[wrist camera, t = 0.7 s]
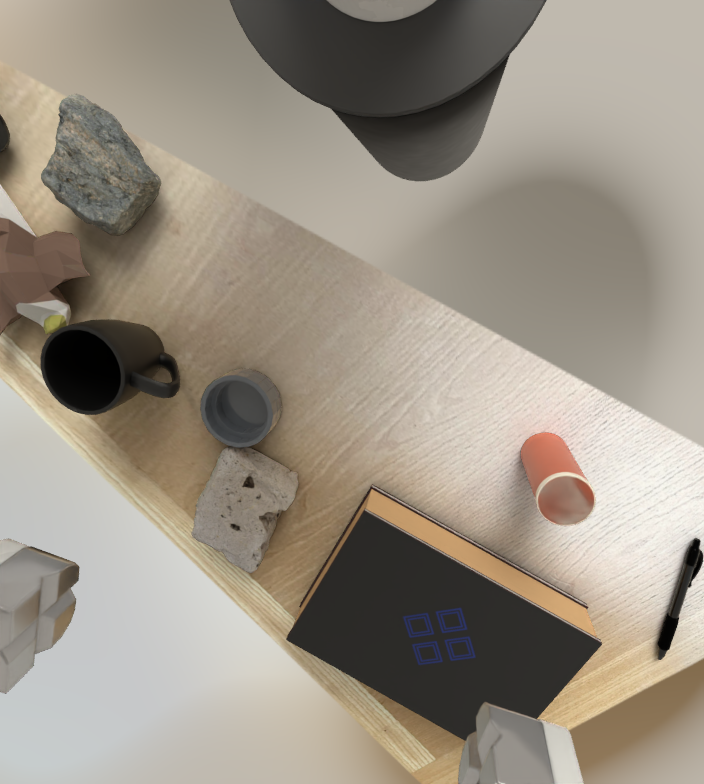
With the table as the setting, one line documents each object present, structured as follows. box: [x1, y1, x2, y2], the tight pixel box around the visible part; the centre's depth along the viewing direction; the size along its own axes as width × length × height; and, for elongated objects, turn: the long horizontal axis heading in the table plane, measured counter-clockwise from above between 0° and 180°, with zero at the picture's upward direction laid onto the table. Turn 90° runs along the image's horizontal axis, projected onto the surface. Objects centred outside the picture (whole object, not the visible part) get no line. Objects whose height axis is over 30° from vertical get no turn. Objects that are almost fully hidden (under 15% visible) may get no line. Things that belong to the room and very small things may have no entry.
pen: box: [657, 538, 703, 660], centre depth 54 cm, size 14×2×1 cm, turn 174°
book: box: [287, 484, 602, 741], centre depth 56 cm, size 17×25×7 cm
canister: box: [521, 433, 596, 526], centre depth 48 cm, size 4×4×10 cm
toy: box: [0, 184, 90, 335], centre depth 52 cm, size 16×16×7 cm
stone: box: [192, 446, 299, 573], centre depth 57 cm, size 13×6×10 cm
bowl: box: [200, 368, 282, 448], centre depth 54 cm, size 7×7×4 cm
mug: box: [41, 320, 180, 415], centre depth 52 cm, size 8×12×10 cm
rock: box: [41, 94, 161, 235], centre depth 50 cm, size 12×10×5 cm
